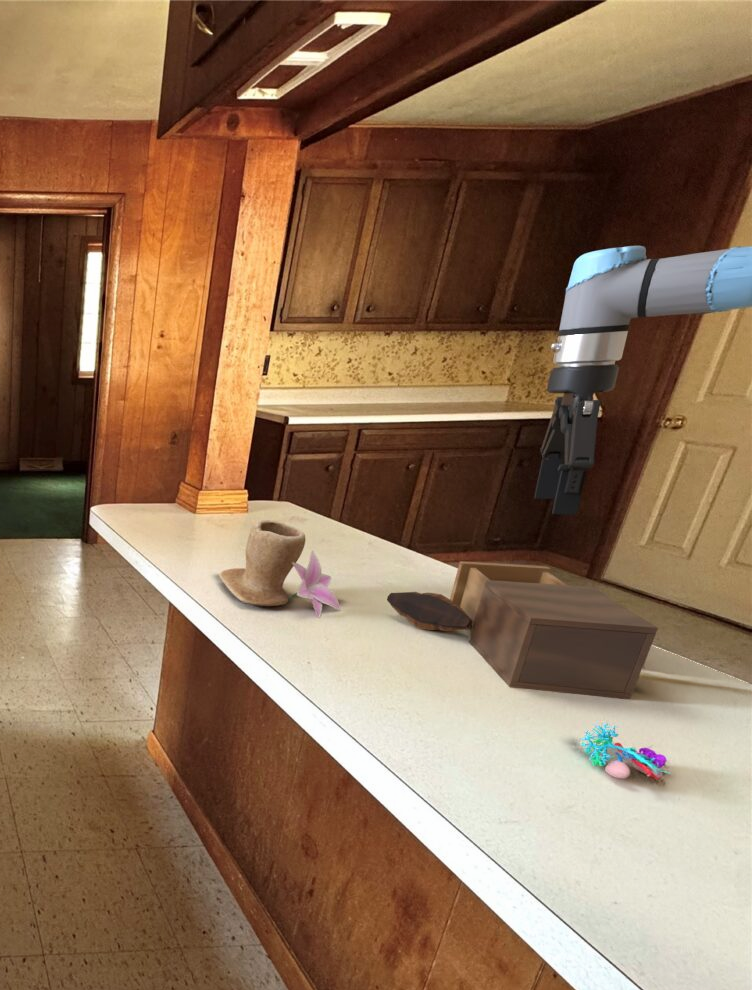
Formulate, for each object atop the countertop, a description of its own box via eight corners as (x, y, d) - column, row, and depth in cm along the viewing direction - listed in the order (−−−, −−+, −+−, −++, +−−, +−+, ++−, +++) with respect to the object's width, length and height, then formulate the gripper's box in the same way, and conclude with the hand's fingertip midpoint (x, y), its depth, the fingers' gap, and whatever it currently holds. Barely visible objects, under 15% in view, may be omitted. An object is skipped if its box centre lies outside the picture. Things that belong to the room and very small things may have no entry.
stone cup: (304, 611, 122) (317, 533, 117) (237, 610, 124) (247, 533, 118) (277, 583, 136) (287, 512, 131) (217, 582, 138) (225, 512, 132)
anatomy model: (708, 764, 70) (666, 723, 76) (615, 754, 72) (581, 716, 78) (686, 799, 72) (647, 757, 78) (597, 789, 75) (565, 749, 80)
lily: (280, 624, 120) (316, 587, 114) (254, 580, 128) (286, 543, 122) (331, 635, 123) (369, 600, 117) (303, 592, 132) (336, 556, 125)
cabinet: (468, 641, 109) (485, 579, 105) (571, 650, 104) (593, 586, 100) (509, 686, 95) (530, 617, 91) (630, 699, 90) (658, 627, 87)
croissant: (396, 577, 117) (407, 586, 120) (375, 610, 118) (386, 619, 121) (481, 603, 106) (490, 613, 109) (457, 640, 107) (467, 649, 110)
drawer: (436, 596, 124) (448, 551, 121) (517, 602, 120) (531, 556, 117) (478, 641, 106) (493, 589, 103) (575, 649, 102) (593, 596, 99)
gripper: (535, 365, 110) (510, 492, 117) (572, 367, 90) (539, 520, 97) (595, 362, 106) (566, 493, 113) (648, 363, 86) (609, 522, 93)
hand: (554, 506), depth 105 cm, fingers open, 13 cm apart
